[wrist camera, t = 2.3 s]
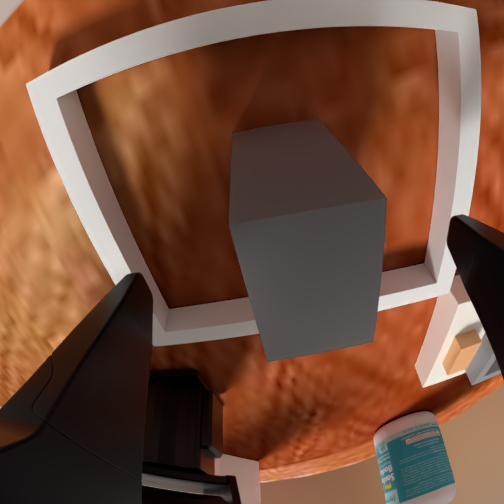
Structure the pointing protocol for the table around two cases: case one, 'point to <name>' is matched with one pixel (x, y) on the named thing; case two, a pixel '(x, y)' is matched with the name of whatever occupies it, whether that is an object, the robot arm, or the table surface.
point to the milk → (241, 476)
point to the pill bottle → (414, 461)
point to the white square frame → (240, 26)
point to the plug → (306, 238)
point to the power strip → (455, 341)
